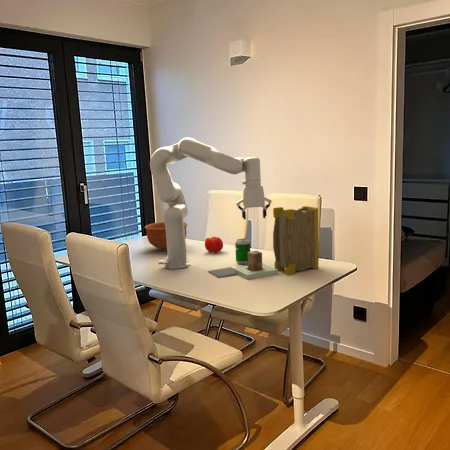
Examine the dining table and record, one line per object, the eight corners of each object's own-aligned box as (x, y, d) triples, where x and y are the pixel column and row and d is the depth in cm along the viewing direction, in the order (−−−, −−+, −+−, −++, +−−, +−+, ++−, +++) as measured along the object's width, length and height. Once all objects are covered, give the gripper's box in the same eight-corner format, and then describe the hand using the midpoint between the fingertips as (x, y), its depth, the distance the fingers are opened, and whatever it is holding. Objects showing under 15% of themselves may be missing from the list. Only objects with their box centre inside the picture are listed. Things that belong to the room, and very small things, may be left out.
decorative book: (307, 264, 234) (306, 203, 228) (320, 269, 224) (320, 206, 219) (272, 270, 225) (270, 208, 220) (285, 275, 215) (283, 210, 210)
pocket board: (247, 279, 212) (247, 275, 212) (233, 272, 225) (233, 268, 225) (277, 273, 219) (277, 269, 219) (262, 267, 232) (262, 263, 231)
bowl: (179, 255, 264) (177, 228, 262) (138, 253, 271) (136, 228, 269) (194, 245, 288) (193, 221, 285) (156, 244, 295) (155, 220, 292)
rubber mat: (218, 278, 216) (218, 276, 216) (208, 272, 227) (208, 270, 227) (242, 273, 221) (241, 272, 221) (230, 268, 232) (230, 267, 232)
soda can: (252, 261, 243) (252, 238, 241) (247, 265, 237) (246, 241, 235) (239, 260, 246) (238, 238, 244) (233, 264, 240) (232, 240, 238)
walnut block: (253, 275, 219) (252, 254, 217) (248, 272, 223) (247, 252, 222) (262, 273, 221) (262, 252, 219) (257, 271, 225) (256, 250, 224)
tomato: (206, 255, 261) (206, 240, 259) (203, 251, 271) (202, 236, 270) (225, 253, 263) (224, 238, 262) (221, 249, 274) (220, 234, 272)
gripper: (236, 185, 222) (237, 221, 225) (272, 182, 224) (273, 218, 227) (234, 183, 230) (235, 218, 233) (269, 181, 231) (270, 216, 234)
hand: (254, 218), depth 230 cm, fingers open, 9 cm apart
